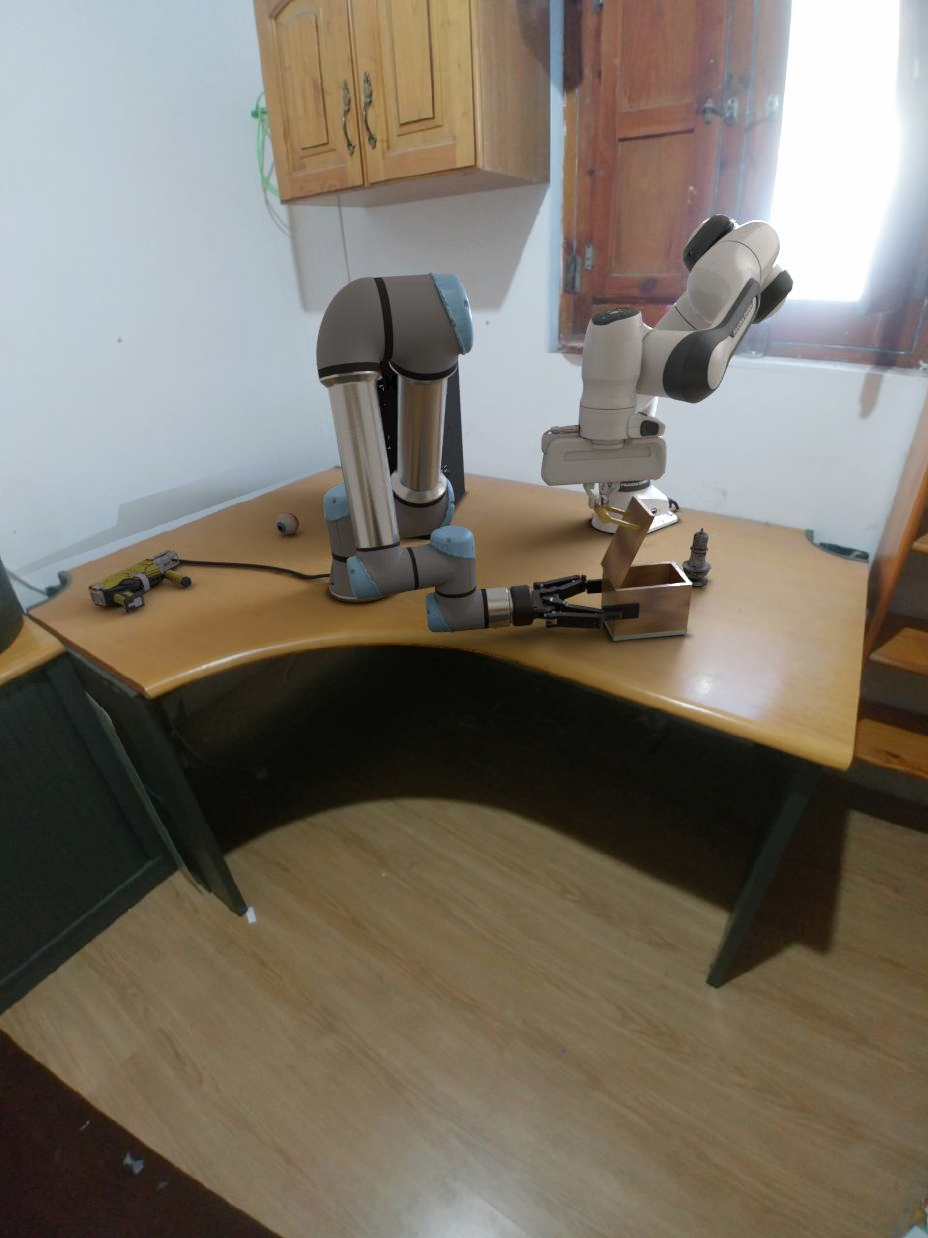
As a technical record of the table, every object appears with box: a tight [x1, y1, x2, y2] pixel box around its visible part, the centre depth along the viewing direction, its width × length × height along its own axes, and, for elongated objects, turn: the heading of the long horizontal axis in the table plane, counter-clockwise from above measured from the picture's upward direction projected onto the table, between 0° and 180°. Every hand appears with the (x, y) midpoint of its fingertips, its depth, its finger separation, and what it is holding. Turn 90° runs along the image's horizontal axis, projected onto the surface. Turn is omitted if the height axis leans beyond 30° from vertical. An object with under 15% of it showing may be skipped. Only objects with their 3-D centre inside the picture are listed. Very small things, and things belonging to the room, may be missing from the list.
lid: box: [592, 496, 655, 589], centre depth 105 cm, size 14×10×8 cm
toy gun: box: [87, 549, 193, 614], centre depth 138 cm, size 5×24×15 cm
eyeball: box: [275, 511, 300, 536], centre depth 163 cm, size 6×6×6 cm
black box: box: [376, 361, 466, 539], centre depth 164 cm, size 38×20×45 cm, turn 167°
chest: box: [600, 560, 693, 642], centre depth 112 cm, size 14×10×10 cm
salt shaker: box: [681, 527, 712, 587], centre depth 126 cm, size 6×6×12 cm
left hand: (629, 596), depth 112 cm, fingers closed on chest, 10 cm apart
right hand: (599, 506), depth 103 cm, fingers closed, pressing on lid
